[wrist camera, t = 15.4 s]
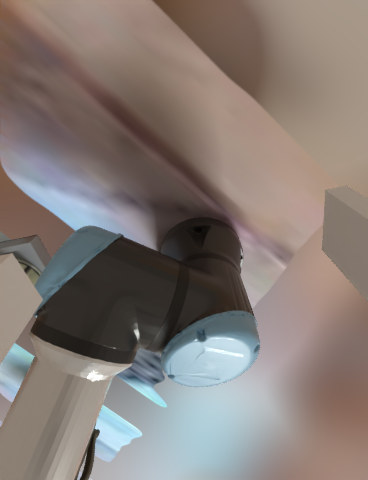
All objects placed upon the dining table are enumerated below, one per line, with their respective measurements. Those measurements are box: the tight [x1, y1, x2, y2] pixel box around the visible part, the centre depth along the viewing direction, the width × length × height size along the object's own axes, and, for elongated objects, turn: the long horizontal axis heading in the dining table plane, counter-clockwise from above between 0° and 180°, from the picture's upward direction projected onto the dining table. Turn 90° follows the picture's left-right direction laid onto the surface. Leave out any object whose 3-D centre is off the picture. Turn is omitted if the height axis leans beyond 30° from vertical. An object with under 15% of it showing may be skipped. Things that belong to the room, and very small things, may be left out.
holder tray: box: [0, 235, 51, 316], centre depth 50 cm, size 16×16×3 cm
